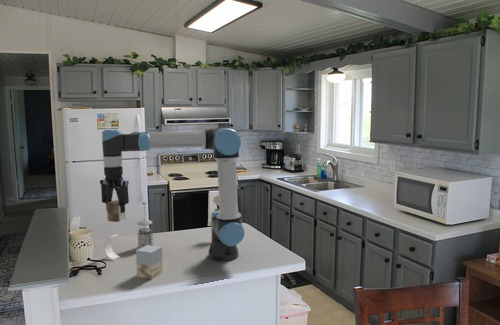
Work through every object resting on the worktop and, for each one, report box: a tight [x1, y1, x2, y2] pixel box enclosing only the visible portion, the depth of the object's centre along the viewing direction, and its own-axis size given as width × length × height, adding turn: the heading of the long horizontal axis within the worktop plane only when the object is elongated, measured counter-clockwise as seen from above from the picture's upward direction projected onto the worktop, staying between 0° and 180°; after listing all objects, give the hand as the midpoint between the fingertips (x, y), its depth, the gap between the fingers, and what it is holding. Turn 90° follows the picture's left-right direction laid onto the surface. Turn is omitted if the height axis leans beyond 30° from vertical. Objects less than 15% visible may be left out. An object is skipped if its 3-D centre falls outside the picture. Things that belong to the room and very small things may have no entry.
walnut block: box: [106, 199, 126, 223], centre depth 175 cm, size 5×5×8 cm
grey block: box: [135, 245, 163, 266], centre depth 180 cm, size 8×8×6 cm
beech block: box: [136, 260, 164, 280], centre depth 181 cm, size 8×8×6 cm
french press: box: [135, 201, 155, 250], centre depth 216 cm, size 10×12×25 cm
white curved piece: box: [102, 233, 121, 261], centre depth 201 cm, size 5×6×12 cm
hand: (116, 219), depth 175 cm, fingers closed on walnut block, 5 cm apart
